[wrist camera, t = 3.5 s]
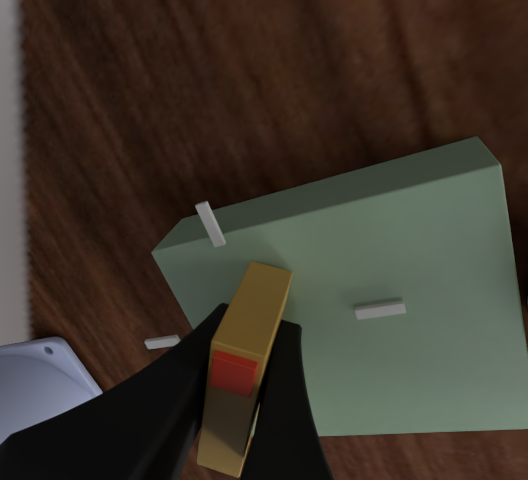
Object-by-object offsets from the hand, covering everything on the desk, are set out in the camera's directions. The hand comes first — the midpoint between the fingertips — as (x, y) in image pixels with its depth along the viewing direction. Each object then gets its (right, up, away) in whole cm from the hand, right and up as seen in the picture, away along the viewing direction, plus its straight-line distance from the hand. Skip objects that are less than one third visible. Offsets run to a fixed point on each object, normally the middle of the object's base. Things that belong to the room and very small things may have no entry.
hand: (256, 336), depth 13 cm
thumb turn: (0, 0, 0) cm, 0 cm away
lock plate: (+2, +1, +2) cm, 3 cm away
